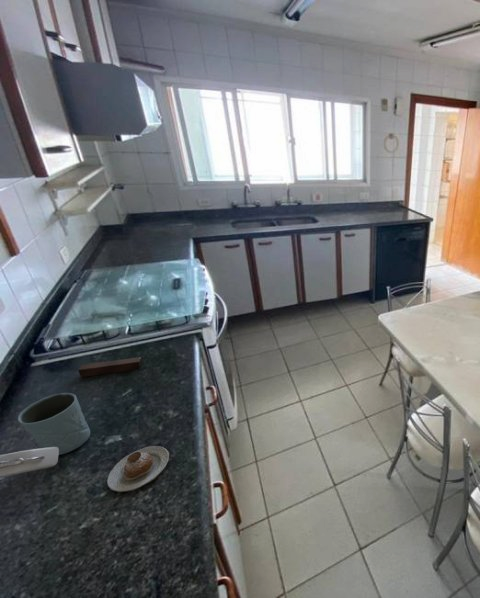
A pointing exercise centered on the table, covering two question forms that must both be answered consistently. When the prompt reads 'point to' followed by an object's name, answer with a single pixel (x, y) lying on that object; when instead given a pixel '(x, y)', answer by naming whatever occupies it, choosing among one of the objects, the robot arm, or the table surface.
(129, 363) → the bar
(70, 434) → the grey green pot
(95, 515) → the table surface
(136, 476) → the pastry
